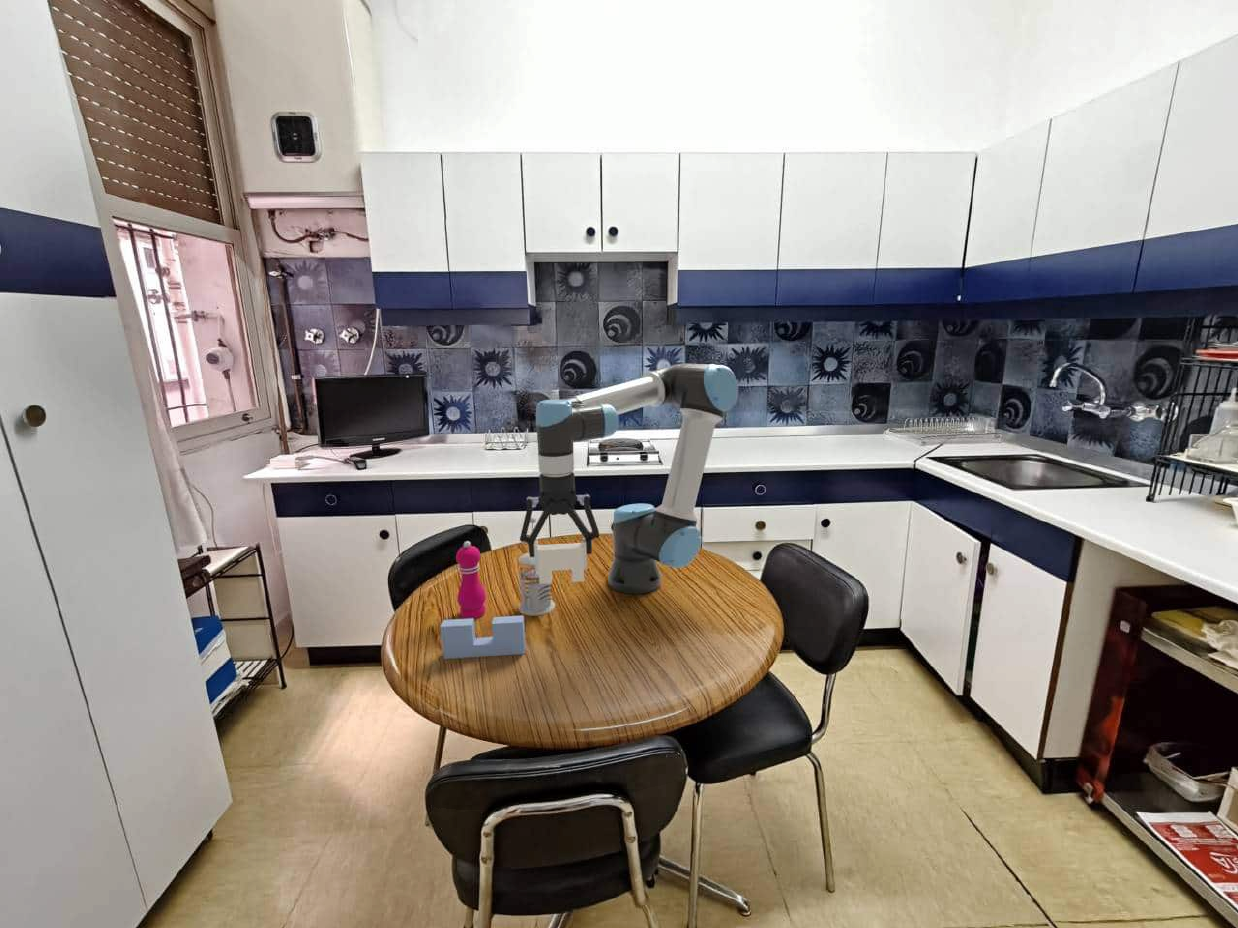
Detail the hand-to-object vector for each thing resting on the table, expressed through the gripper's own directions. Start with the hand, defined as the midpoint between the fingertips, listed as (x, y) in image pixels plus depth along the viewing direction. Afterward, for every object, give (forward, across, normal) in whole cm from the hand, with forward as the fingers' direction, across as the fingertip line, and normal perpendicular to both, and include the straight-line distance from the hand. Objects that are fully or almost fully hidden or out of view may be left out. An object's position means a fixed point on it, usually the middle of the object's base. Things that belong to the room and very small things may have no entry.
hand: (561, 568), depth 122 cm
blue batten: (+19, +18, +1) cm, 26 cm away
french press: (+20, +8, -19) cm, 28 cm away
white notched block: (+3, 0, 0) cm, 3 cm away
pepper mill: (+20, +24, -18) cm, 36 cm away
